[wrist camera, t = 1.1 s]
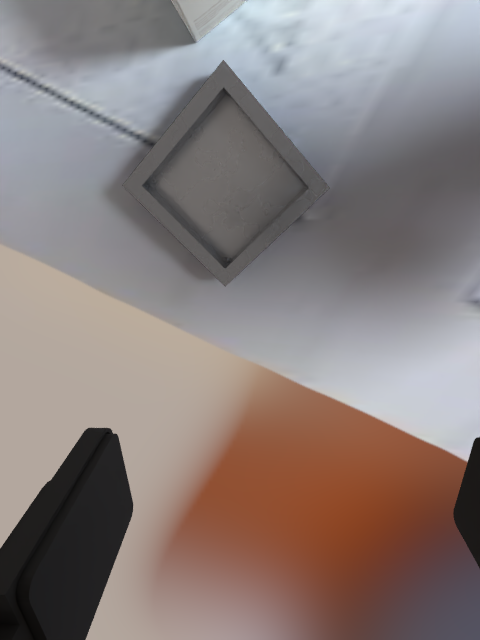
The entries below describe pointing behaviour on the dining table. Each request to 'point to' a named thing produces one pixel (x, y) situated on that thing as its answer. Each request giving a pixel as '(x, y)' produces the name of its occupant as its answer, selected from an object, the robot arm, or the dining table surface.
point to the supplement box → (204, 14)
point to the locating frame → (225, 177)
